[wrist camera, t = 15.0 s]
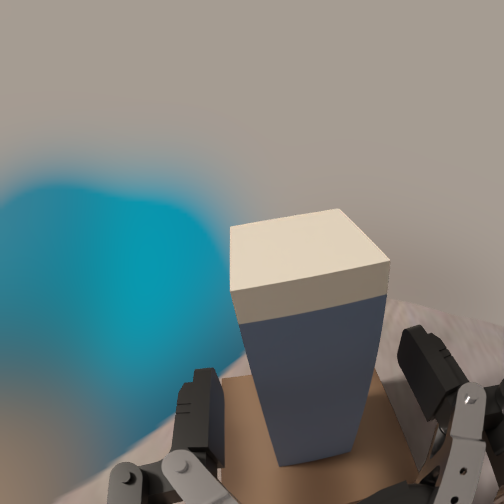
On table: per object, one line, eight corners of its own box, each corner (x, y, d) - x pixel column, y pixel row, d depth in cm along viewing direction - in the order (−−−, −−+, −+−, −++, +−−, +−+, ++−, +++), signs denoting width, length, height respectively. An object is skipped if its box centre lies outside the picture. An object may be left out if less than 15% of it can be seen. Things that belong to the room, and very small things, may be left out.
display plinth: (360, 385, 24) (366, 351, 21) (399, 494, 13) (420, 477, 11) (234, 409, 24) (221, 378, 21) (239, 527, 13) (222, 520, 11)
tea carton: (334, 398, 18) (338, 208, 12) (350, 451, 14) (390, 260, 8) (271, 411, 18) (230, 226, 12) (278, 467, 14) (230, 291, 8)
